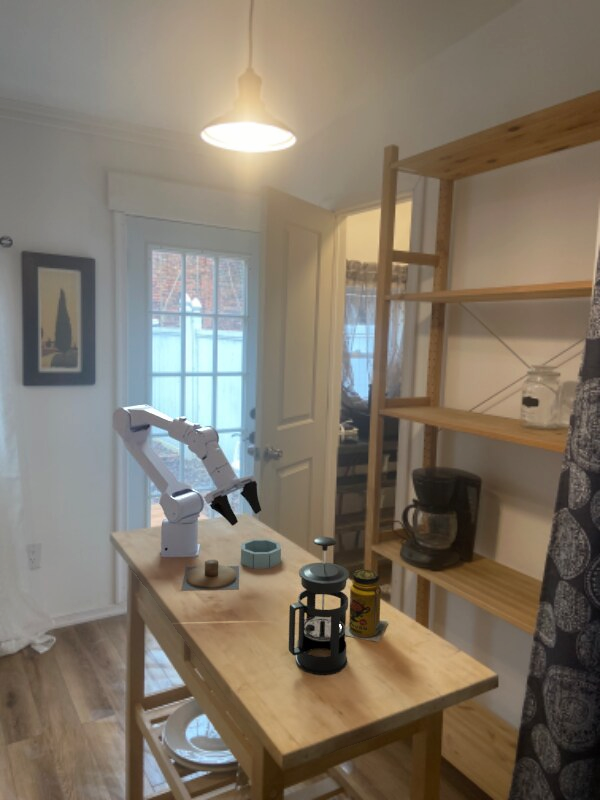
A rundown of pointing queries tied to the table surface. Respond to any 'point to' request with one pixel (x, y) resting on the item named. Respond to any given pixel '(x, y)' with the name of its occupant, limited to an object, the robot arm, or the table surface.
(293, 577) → the table surface
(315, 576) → the french press
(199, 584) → the lid
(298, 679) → the table surface
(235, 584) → the mat
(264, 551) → the bowl
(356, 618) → the condiment
